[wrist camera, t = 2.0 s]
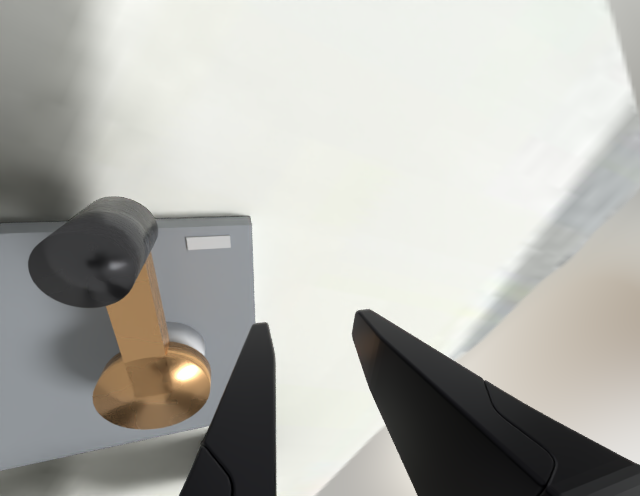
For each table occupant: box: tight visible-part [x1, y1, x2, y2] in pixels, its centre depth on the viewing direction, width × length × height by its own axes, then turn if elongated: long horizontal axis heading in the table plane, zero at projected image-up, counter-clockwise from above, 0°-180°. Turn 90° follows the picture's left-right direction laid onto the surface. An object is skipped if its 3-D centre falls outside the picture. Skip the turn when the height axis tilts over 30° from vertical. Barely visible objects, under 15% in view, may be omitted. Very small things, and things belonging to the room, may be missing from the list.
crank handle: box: [28, 197, 211, 430], centre depth 14 cm, size 14×6×4 cm, turn 175°
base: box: [0, 216, 255, 471], centre depth 19 cm, size 18×18×4 cm
